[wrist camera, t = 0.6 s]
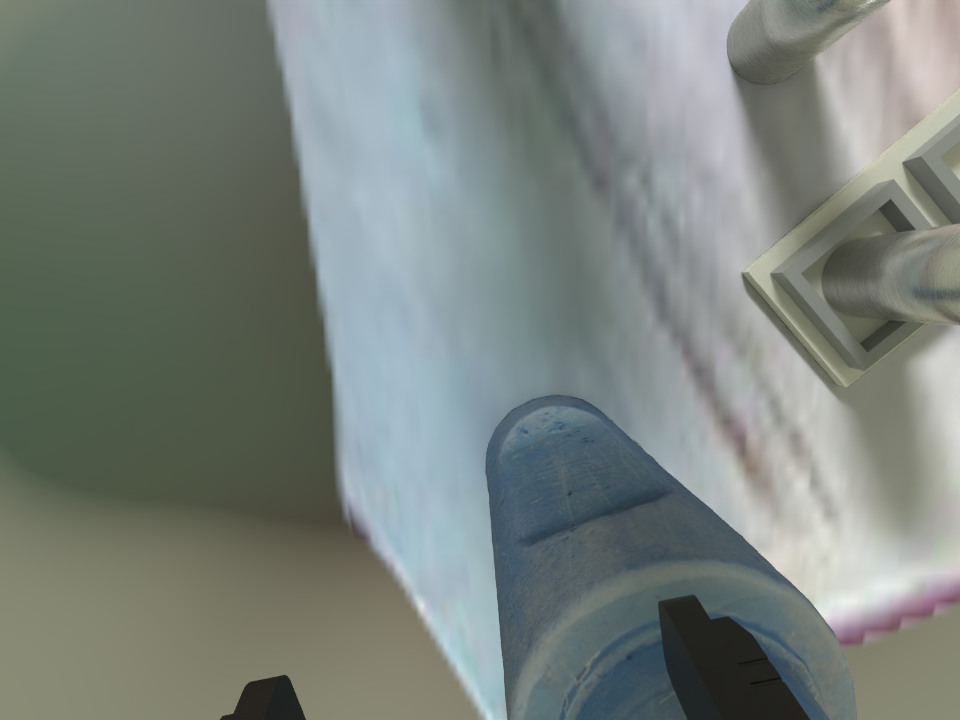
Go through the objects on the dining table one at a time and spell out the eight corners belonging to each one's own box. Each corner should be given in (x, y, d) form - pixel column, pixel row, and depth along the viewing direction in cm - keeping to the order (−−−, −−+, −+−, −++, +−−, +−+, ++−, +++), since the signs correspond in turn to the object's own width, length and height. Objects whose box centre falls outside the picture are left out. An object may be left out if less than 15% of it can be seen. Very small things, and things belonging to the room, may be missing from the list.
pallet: (1005, 49, 32) (1046, 29, 30) (1102, 174, 33) (1151, 165, 31) (741, 272, 35) (759, 271, 33) (837, 385, 36) (861, 392, 33)
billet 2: (827, 235, 33) (1003, 206, 22) (909, 239, 33) (1133, 211, 21) (816, 315, 34) (981, 329, 22) (897, 319, 34) (1107, 336, 22)
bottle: (509, 545, 38) (664, 1509, 8) (465, 416, 36) (456, 1005, 7) (638, 504, 38) (1288, 1335, 8) (599, 373, 36) (1206, 777, 6)
